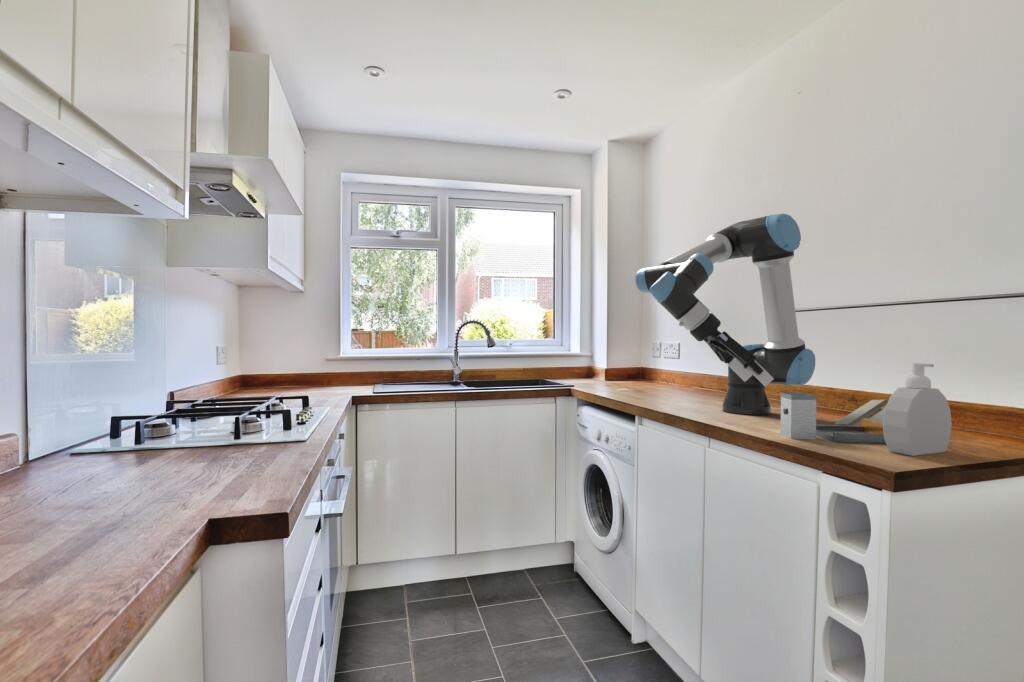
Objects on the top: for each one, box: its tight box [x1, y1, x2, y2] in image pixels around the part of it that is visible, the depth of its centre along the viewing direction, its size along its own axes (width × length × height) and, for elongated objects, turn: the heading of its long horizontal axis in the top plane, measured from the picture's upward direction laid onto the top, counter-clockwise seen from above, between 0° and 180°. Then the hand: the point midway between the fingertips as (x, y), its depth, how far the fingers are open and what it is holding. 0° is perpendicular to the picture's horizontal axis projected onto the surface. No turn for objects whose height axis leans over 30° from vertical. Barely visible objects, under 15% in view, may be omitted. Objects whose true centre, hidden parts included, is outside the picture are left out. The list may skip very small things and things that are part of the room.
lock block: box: [779, 391, 818, 440], centre depth 128 cm, size 6×6×11 cm
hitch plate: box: [816, 419, 887, 445], centre depth 127 cm, size 12×14×4 cm
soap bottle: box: [883, 362, 953, 457], centre depth 111 cm, size 16×5×20 cm, turn 111°
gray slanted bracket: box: [833, 399, 888, 426], centre depth 143 cm, size 16×9×15 cm
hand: (758, 380), depth 129 cm, fingers open, 13 cm apart
